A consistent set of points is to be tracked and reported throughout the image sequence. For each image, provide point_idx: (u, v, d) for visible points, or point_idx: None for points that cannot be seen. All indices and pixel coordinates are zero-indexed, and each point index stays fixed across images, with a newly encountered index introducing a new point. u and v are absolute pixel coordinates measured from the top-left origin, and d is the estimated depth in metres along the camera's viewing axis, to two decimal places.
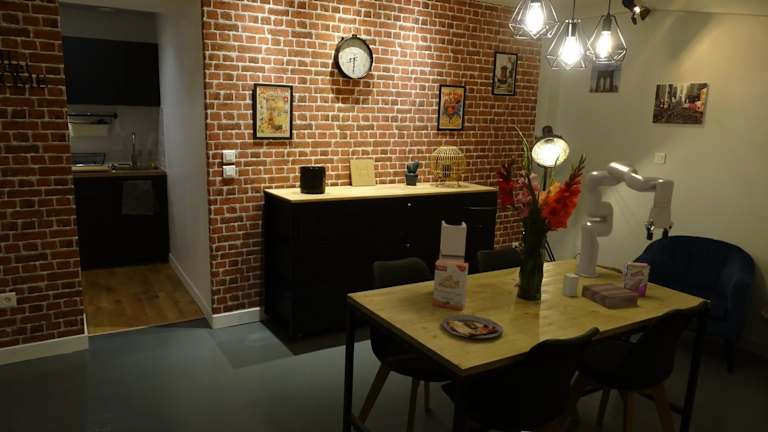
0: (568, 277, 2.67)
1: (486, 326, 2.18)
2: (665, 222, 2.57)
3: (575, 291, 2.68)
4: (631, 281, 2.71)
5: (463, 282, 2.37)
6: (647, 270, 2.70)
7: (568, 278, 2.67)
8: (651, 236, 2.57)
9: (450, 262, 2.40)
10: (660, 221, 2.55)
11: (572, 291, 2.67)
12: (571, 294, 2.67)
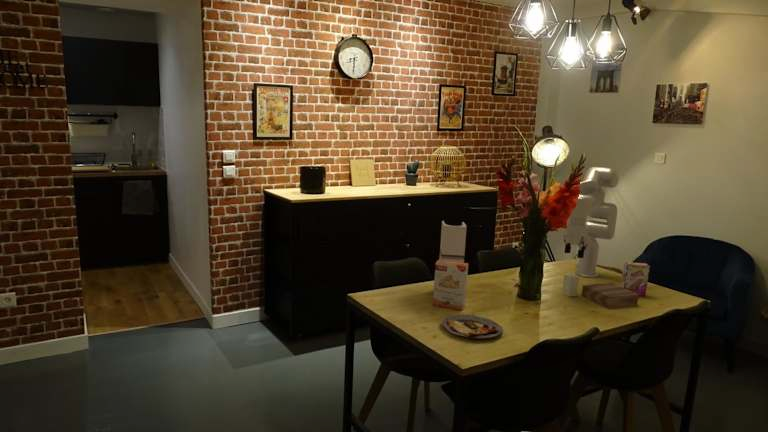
0: (568, 277, 2.67)
1: (486, 326, 2.18)
2: None
3: (575, 291, 2.68)
4: (631, 281, 2.71)
5: (463, 282, 2.37)
6: (647, 270, 2.70)
7: (568, 278, 2.67)
8: None
9: (450, 262, 2.40)
10: None
11: (572, 291, 2.67)
12: (571, 294, 2.67)
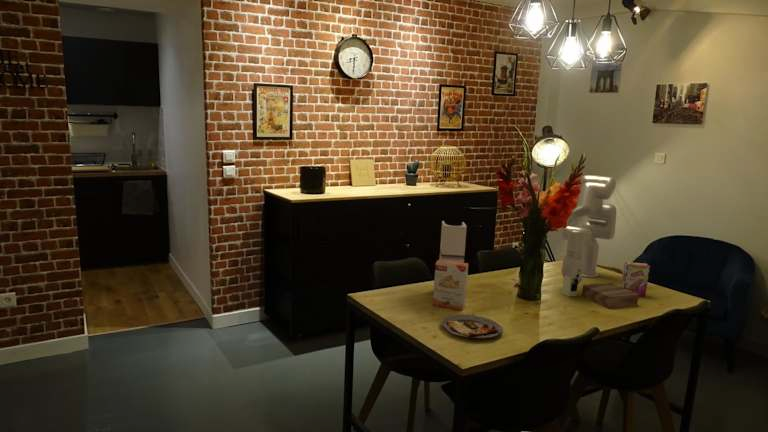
0: (568, 277, 2.67)
1: (486, 326, 2.18)
2: None
3: (575, 291, 2.68)
4: (631, 281, 2.71)
5: (463, 282, 2.37)
6: (647, 270, 2.70)
7: (568, 278, 2.67)
8: (576, 286, 2.67)
9: (450, 262, 2.40)
10: None
11: (572, 291, 2.67)
12: (571, 294, 2.67)
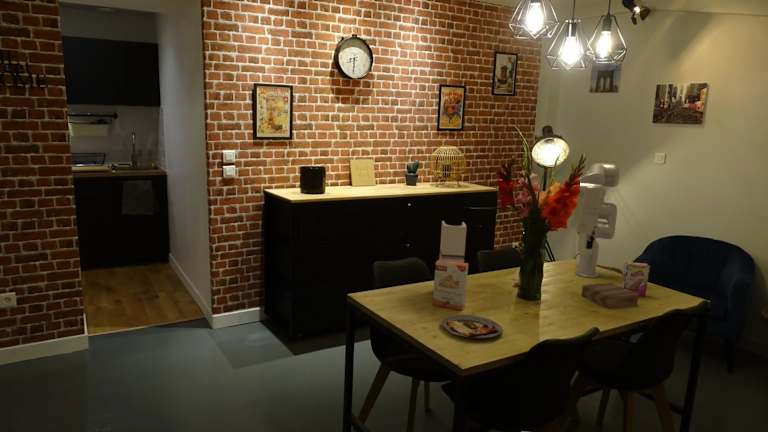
0: (583, 234, 2.61)
1: (486, 326, 2.18)
2: None
3: (590, 249, 2.62)
4: (631, 281, 2.71)
5: (463, 282, 2.37)
6: (647, 270, 2.70)
7: (583, 235, 2.61)
8: None
9: (450, 262, 2.40)
10: None
11: (588, 249, 2.61)
12: (586, 252, 2.61)
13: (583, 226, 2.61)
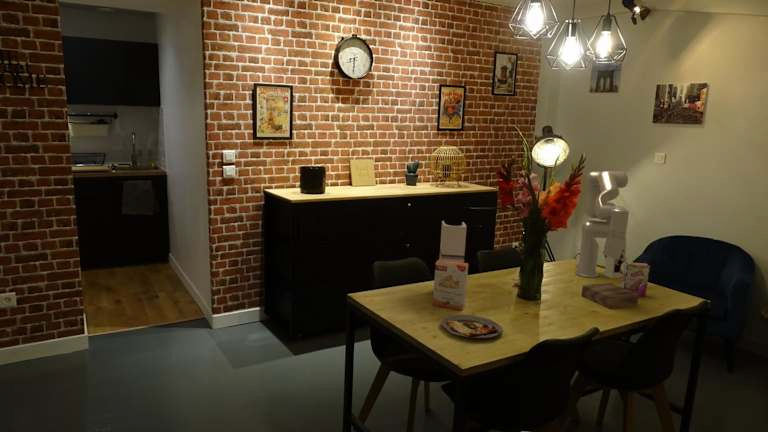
0: (611, 258, 2.58)
1: (486, 326, 2.18)
2: None
3: (618, 272, 2.59)
4: (631, 281, 2.71)
5: (463, 282, 2.37)
6: (647, 270, 2.70)
7: (610, 259, 2.58)
8: None
9: (450, 262, 2.40)
10: None
11: (615, 273, 2.59)
12: (614, 276, 2.59)
13: (611, 249, 2.58)
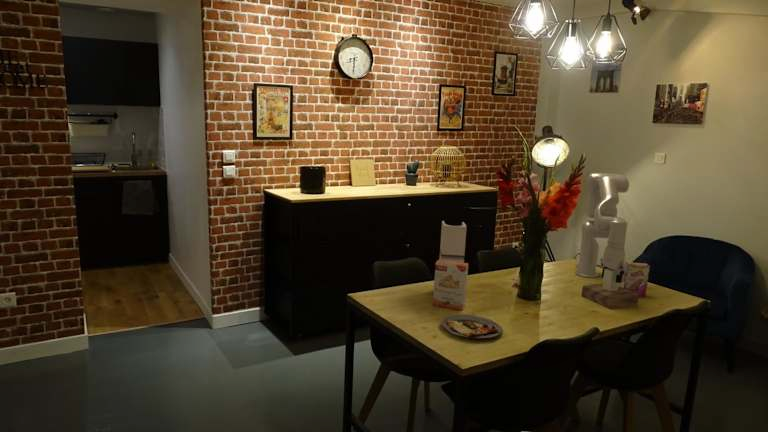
0: (609, 271, 2.59)
1: (486, 326, 2.18)
2: None
3: (616, 286, 2.60)
4: (631, 281, 2.71)
5: (463, 282, 2.37)
6: (647, 270, 2.70)
7: (609, 272, 2.60)
8: (621, 278, 2.57)
9: (450, 262, 2.40)
10: None
11: (613, 286, 2.60)
12: (612, 289, 2.60)
13: (609, 260, 2.59)
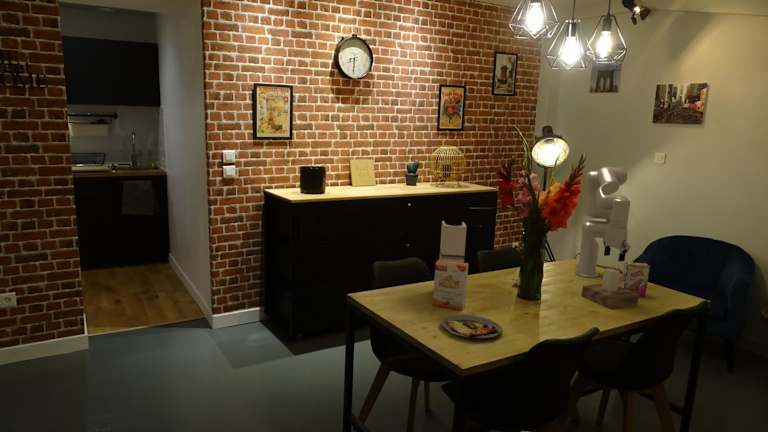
0: (609, 272, 2.59)
1: (485, 326, 2.18)
2: None
3: (616, 286, 2.60)
4: (631, 281, 2.71)
5: (463, 282, 2.37)
6: (647, 270, 2.70)
7: (608, 272, 2.59)
8: None
9: (450, 262, 2.40)
10: None
11: (613, 287, 2.60)
12: (612, 289, 2.60)
13: (612, 239, 2.57)
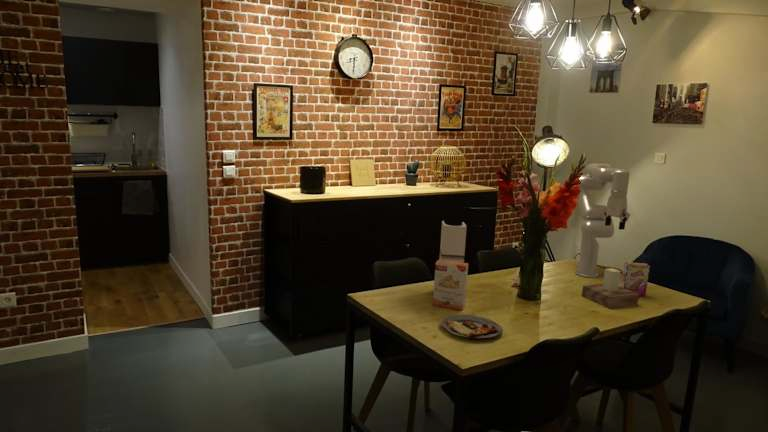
0: (610, 272, 2.59)
1: (485, 326, 2.18)
2: None
3: (616, 286, 2.60)
4: (631, 281, 2.71)
5: (463, 282, 2.37)
6: (647, 270, 2.70)
7: (609, 272, 2.59)
8: None
9: (450, 262, 2.40)
10: None
11: (614, 287, 2.60)
12: (612, 289, 2.60)
13: (612, 209, 2.73)
